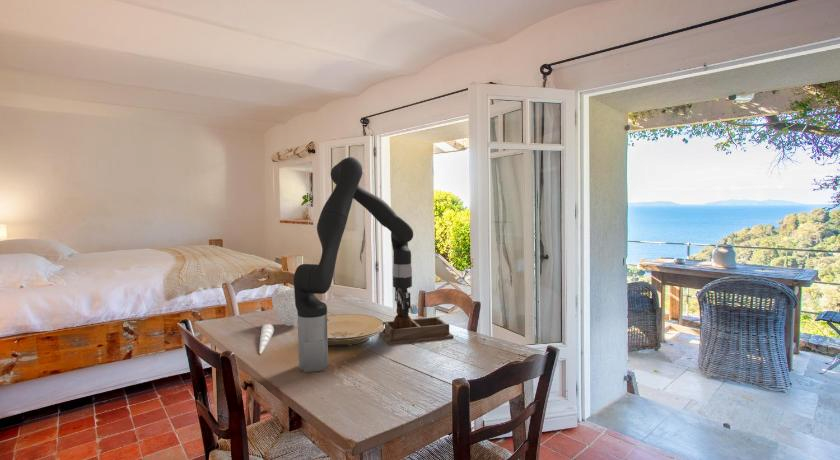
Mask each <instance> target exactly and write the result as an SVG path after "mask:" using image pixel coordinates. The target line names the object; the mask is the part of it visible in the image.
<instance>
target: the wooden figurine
mask: <svg viewBox="0 0 840 460" xmlns="http://www.w3.org/2000/svg"><path fill="white" fill-rule="evenodd" d="M406 305H407V304H406ZM402 309H403V308H402V304H400V302H399V304H398V307H397V306H396V316H395V317H394V319H393V321H394V328H395V329H401V328H411V319H412V318H411V316H410V315H408V316H409V317H408V319H403V311H402ZM409 310H410V308H409V309H408V314H409V312H410V311H409Z"/></svg>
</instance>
